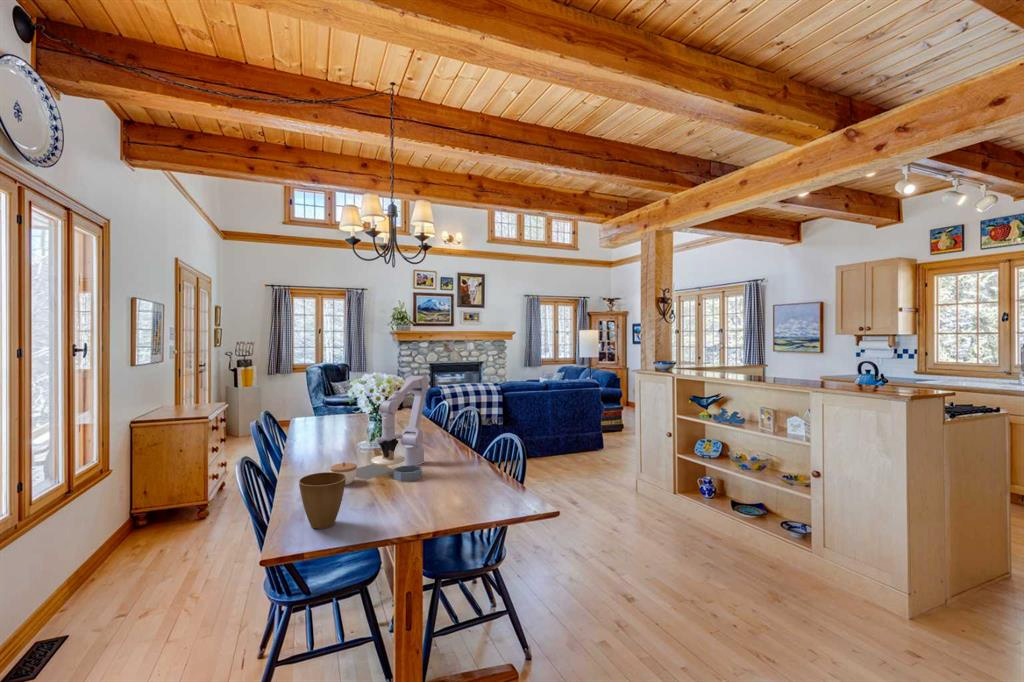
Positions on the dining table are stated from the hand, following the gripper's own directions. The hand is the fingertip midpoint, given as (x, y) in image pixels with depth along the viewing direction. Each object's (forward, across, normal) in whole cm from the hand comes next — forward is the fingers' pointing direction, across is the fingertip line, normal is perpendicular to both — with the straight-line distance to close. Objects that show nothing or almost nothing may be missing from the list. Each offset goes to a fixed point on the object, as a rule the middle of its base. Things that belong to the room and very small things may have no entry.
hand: (388, 456), depth 222 cm
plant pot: (+9, +52, +27) cm, 59 cm away
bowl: (+8, -2, +10) cm, 13 cm away
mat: (+8, +2, -11) cm, 14 cm away
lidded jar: (+9, +20, -5) cm, 23 cm away
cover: (+2, 0, 0) cm, 2 cm away
